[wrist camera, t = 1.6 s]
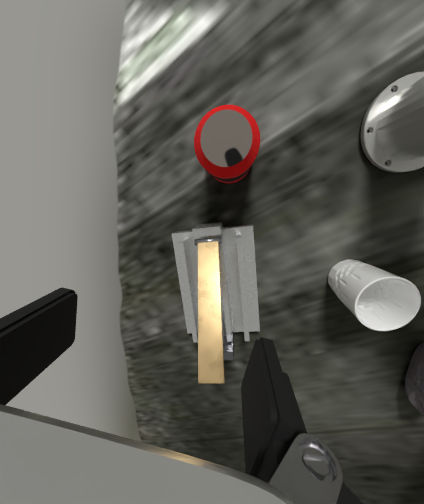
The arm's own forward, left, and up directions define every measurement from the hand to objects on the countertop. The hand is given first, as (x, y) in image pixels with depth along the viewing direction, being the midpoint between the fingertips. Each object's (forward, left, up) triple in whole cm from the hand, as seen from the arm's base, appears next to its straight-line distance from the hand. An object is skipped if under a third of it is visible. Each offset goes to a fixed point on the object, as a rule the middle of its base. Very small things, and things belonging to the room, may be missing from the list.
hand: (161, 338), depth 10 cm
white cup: (-23, +9, -28) cm, 37 cm away
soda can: (-4, -13, -28) cm, 31 cm away
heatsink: (0, +8, -28) cm, 29 cm away
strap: (0, +7, -16) cm, 18 cm away
